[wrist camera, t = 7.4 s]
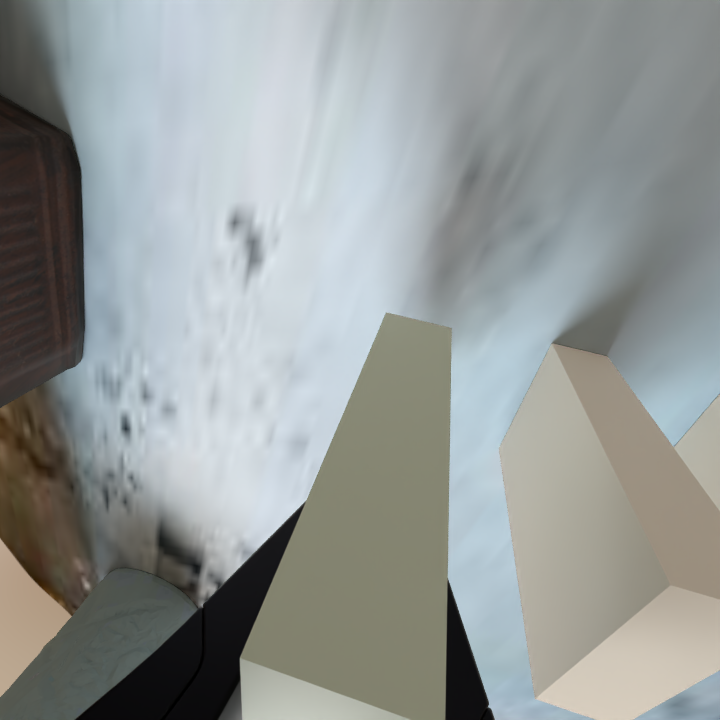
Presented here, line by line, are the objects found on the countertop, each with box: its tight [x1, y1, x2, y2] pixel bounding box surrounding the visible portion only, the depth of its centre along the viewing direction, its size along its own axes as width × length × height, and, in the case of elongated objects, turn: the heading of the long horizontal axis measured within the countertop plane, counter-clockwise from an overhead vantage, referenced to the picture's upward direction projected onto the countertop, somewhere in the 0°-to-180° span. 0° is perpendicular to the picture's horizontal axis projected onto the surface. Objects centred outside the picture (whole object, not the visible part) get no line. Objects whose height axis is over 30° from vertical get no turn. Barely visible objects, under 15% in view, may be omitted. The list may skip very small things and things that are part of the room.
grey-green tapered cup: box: [0, 568, 198, 720], centre depth 25 cm, size 10×10×12 cm
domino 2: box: [499, 343, 720, 720], centre depth 10 cm, size 2×5×8 cm, turn 171°
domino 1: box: [240, 312, 452, 720], centre depth 8 cm, size 2×5×8 cm, turn 171°
